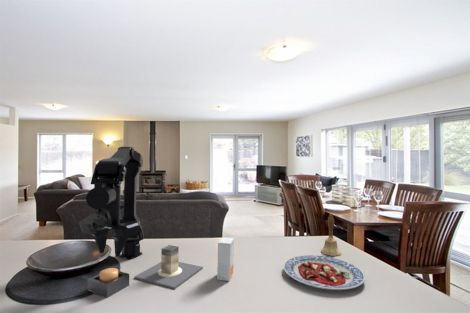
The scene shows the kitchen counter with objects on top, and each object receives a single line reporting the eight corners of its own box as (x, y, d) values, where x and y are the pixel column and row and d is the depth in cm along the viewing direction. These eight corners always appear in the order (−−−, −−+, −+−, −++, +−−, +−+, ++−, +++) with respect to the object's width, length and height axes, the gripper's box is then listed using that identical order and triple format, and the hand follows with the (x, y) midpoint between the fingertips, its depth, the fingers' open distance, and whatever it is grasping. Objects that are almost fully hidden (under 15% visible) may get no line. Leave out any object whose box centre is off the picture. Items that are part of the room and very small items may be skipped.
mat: (134, 278, 85) (134, 276, 85) (166, 260, 100) (166, 258, 100) (174, 289, 79) (174, 286, 79) (202, 268, 93) (202, 266, 93)
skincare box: (229, 281, 84) (230, 243, 84) (216, 280, 85) (217, 242, 85) (233, 273, 90) (234, 238, 90) (221, 271, 91) (222, 237, 91)
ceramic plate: (276, 285, 82) (276, 276, 82) (290, 256, 106) (290, 249, 106) (368, 304, 72) (368, 293, 72) (361, 267, 96) (361, 259, 96)
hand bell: (316, 251, 111) (317, 214, 111) (327, 247, 116) (327, 211, 116) (335, 257, 105) (335, 217, 105) (345, 253, 110) (345, 214, 110)
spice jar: (161, 272, 88) (161, 248, 88) (168, 267, 92) (169, 244, 92) (170, 274, 86) (171, 250, 86) (178, 270, 90) (178, 246, 90)
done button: (95, 281, 77) (95, 273, 77) (110, 274, 82) (110, 266, 82) (107, 285, 75) (107, 276, 75) (121, 278, 80) (121, 269, 80)
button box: (87, 291, 77) (87, 279, 77) (110, 279, 84) (110, 268, 84) (107, 297, 73) (107, 285, 73) (129, 285, 81) (129, 273, 81)
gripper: (62, 204, 75) (62, 258, 75) (109, 210, 67) (109, 271, 67) (97, 198, 85) (96, 246, 85) (141, 203, 78) (141, 256, 78)
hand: (109, 254), depth 79 cm, fingers open, 6 cm apart
